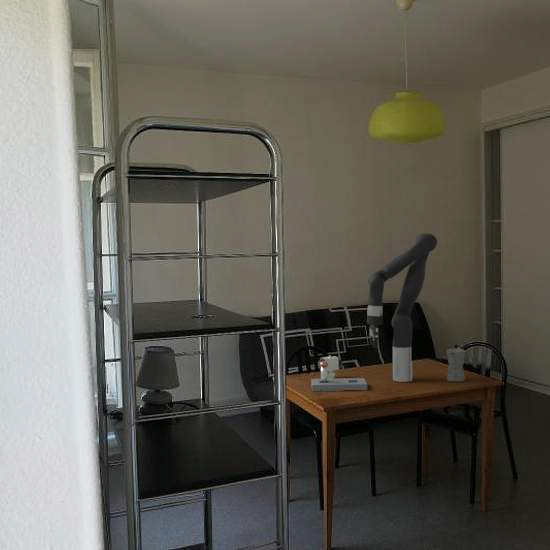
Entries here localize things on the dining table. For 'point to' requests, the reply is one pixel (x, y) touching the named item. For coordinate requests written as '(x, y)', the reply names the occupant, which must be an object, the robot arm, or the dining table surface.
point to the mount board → (339, 384)
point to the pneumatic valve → (331, 365)
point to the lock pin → (323, 371)
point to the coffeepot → (455, 364)
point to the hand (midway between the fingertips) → (373, 346)
